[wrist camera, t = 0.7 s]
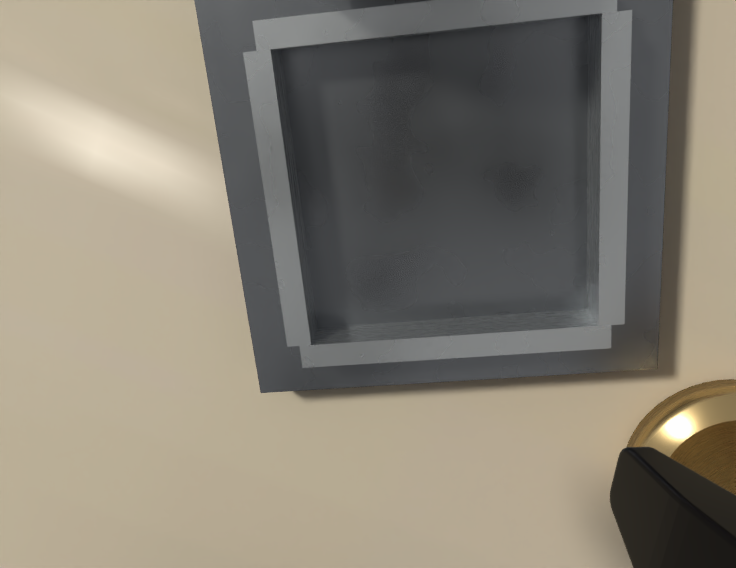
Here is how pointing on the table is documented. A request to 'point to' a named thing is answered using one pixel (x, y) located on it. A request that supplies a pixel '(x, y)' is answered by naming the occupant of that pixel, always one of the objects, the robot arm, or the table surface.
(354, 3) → the socket plate
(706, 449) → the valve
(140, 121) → the table surface
